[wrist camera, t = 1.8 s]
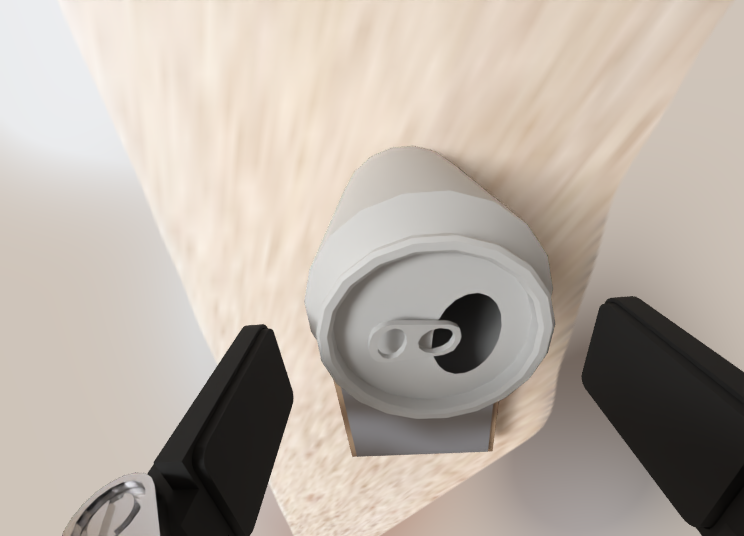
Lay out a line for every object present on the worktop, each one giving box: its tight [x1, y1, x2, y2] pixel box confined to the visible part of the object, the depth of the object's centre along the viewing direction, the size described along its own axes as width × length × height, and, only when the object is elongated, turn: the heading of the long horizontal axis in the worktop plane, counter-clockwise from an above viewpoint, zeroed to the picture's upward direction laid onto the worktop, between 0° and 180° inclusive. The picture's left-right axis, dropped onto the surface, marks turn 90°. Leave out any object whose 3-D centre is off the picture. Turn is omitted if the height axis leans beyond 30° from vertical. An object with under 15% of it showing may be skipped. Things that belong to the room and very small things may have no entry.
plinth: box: [333, 379, 499, 457], centre depth 24 cm, size 12×12×3 cm
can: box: [304, 146, 555, 419], centre depth 13 cm, size 8×8×12 cm
